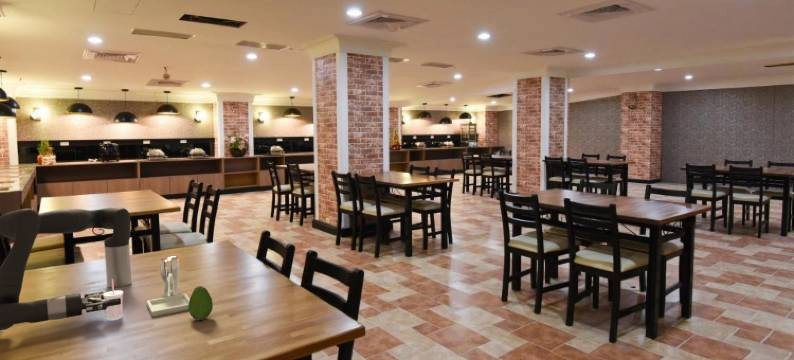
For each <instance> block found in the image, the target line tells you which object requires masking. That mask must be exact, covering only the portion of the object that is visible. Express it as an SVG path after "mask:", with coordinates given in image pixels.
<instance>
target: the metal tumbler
mask: <svg viewBox="0 0 794 360" xmlns="http://www.w3.org/2000/svg"><path fill="white" fill-rule="evenodd" d="M159 263H160V266H159V267H160V268H159V269H160V276H161V281H162V283H163V291H162V292H163V293H162V297H163V298H164V297H169V296H175V295H181V294H180V293H181V292H180V289H179V279H180V270H181V269H180V260H179V257H178V256H174V255H173V256H166V257H165V256H164V257H162V258H160V262H159Z"/></svg>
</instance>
